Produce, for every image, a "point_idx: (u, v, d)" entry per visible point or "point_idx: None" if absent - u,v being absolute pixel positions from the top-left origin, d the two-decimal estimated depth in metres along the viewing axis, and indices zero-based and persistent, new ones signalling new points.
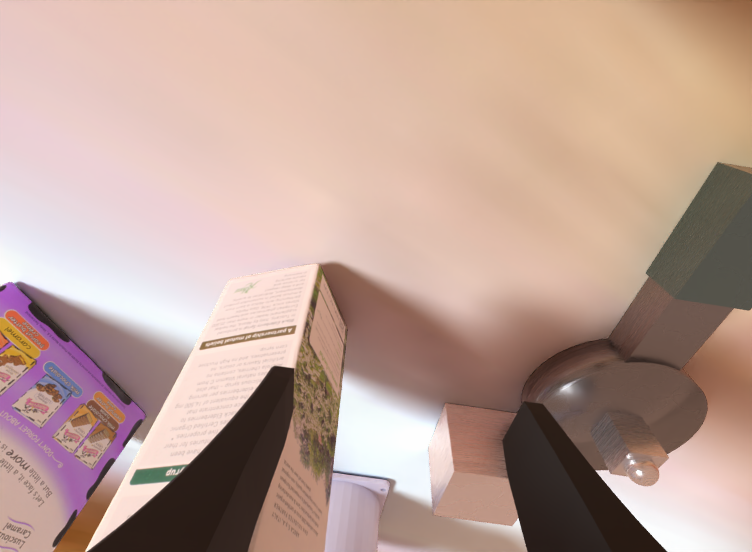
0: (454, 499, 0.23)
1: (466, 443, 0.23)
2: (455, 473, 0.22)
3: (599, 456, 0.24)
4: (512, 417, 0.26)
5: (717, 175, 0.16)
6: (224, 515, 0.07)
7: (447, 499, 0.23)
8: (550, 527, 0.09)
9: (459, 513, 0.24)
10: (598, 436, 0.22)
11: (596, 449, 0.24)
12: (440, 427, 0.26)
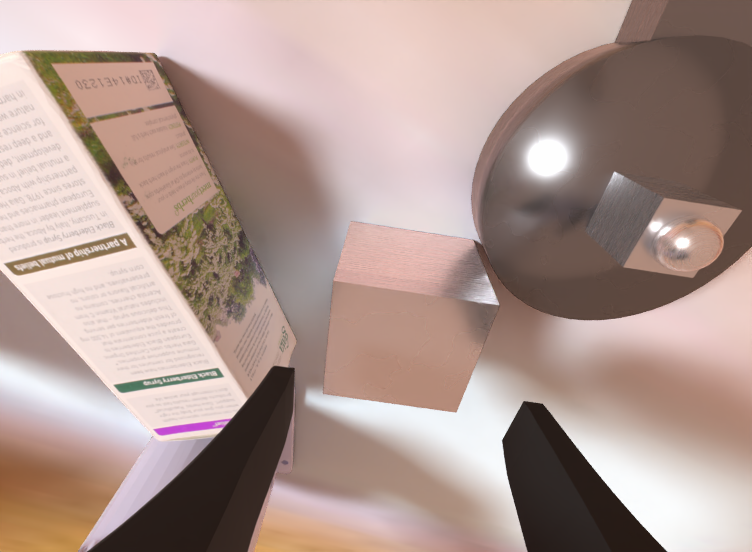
0: (349, 354, 0.13)
1: (370, 256, 0.13)
2: (337, 287, 0.12)
3: (600, 287, 0.14)
4: (458, 241, 0.16)
5: None
6: (225, 515, 0.07)
7: (338, 354, 0.13)
8: (550, 527, 0.09)
9: (364, 387, 0.14)
10: (598, 224, 0.12)
11: (596, 270, 0.14)
12: None
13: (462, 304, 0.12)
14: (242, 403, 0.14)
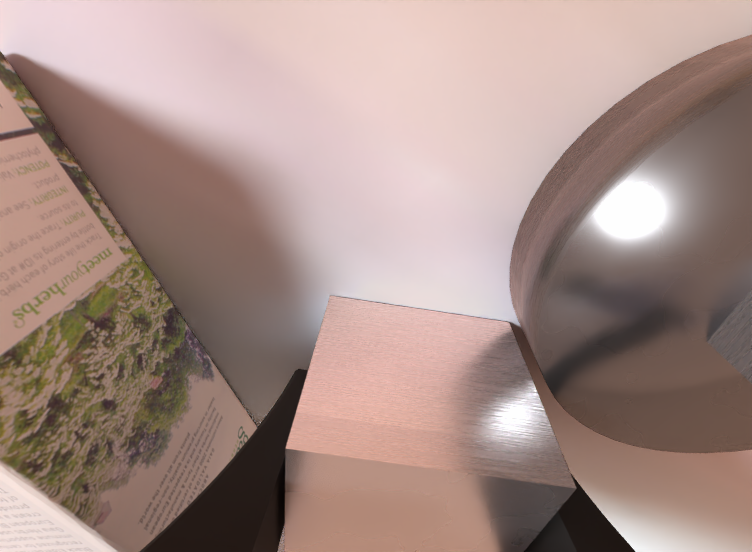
0: (321, 532, 0.08)
1: (354, 375, 0.08)
2: (293, 456, 0.07)
3: (715, 414, 0.09)
4: (489, 327, 0.11)
5: None
6: (263, 520, 0.07)
7: (303, 530, 0.08)
8: None
9: None
10: (741, 340, 0.07)
11: (713, 393, 0.09)
12: None
13: (511, 484, 0.07)
14: None
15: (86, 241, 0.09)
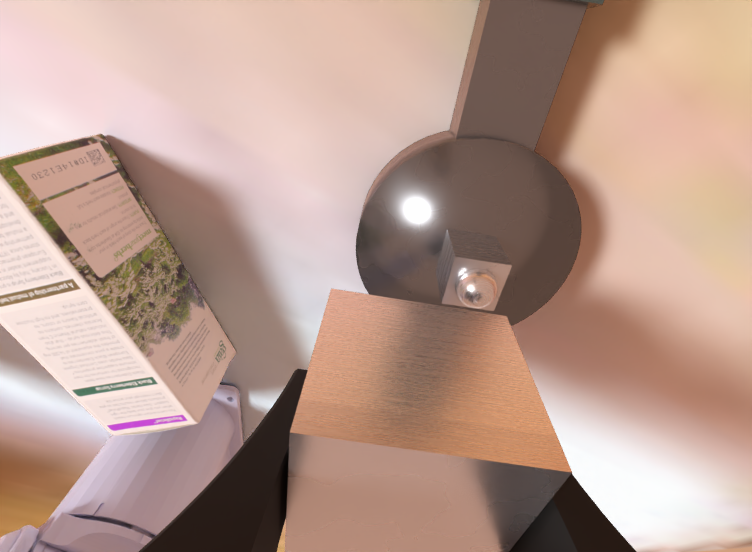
0: (322, 518, 0.09)
1: (356, 364, 0.09)
2: (297, 440, 0.07)
3: None
4: (487, 321, 0.11)
5: None
6: (262, 520, 0.07)
7: (304, 516, 0.09)
8: None
9: None
10: (439, 267, 0.16)
11: None
12: None
13: (508, 468, 0.07)
14: (175, 404, 0.18)
15: (139, 225, 0.18)
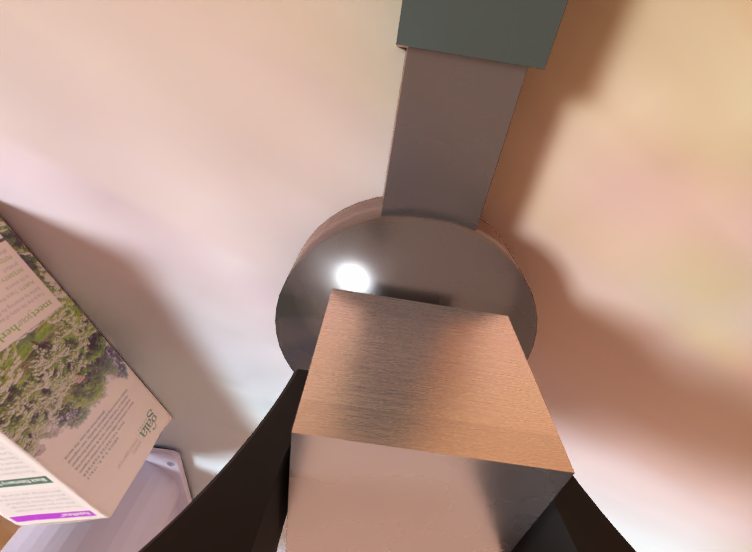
0: (324, 519, 0.09)
1: (358, 363, 0.09)
2: (298, 440, 0.07)
3: None
4: (488, 321, 0.11)
5: None
6: (262, 520, 0.07)
7: (305, 517, 0.09)
8: None
9: None
10: None
11: None
12: None
13: (511, 468, 0.07)
14: (78, 501, 0.16)
15: (34, 298, 0.15)
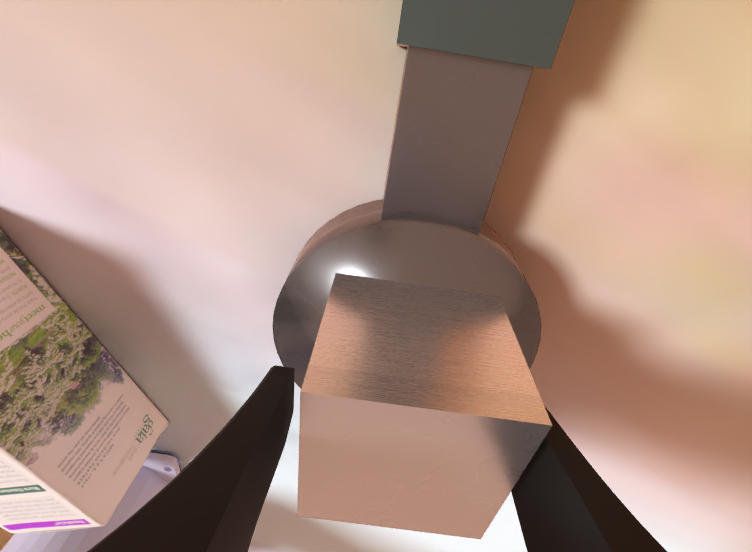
0: (331, 476, 0.09)
1: (359, 336, 0.10)
2: (307, 399, 0.08)
3: None
4: (480, 300, 0.12)
5: None
6: (224, 515, 0.07)
7: (314, 475, 0.09)
8: (550, 527, 0.09)
9: (354, 510, 0.10)
10: None
11: None
12: None
13: (495, 422, 0.08)
14: (72, 509, 0.15)
15: (27, 302, 0.15)
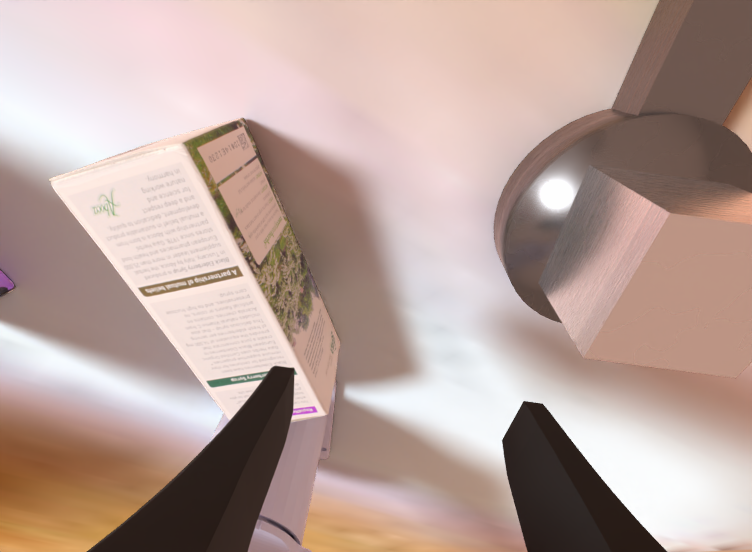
0: (641, 308, 0.12)
1: (663, 193, 0.12)
2: (670, 221, 0.10)
3: None
4: (718, 185, 0.14)
5: None
6: (224, 515, 0.07)
7: (627, 308, 0.12)
8: (550, 527, 0.09)
9: (638, 349, 0.12)
10: None
11: None
12: (578, 214, 0.14)
13: None
14: (309, 395, 0.18)
15: (275, 212, 0.17)
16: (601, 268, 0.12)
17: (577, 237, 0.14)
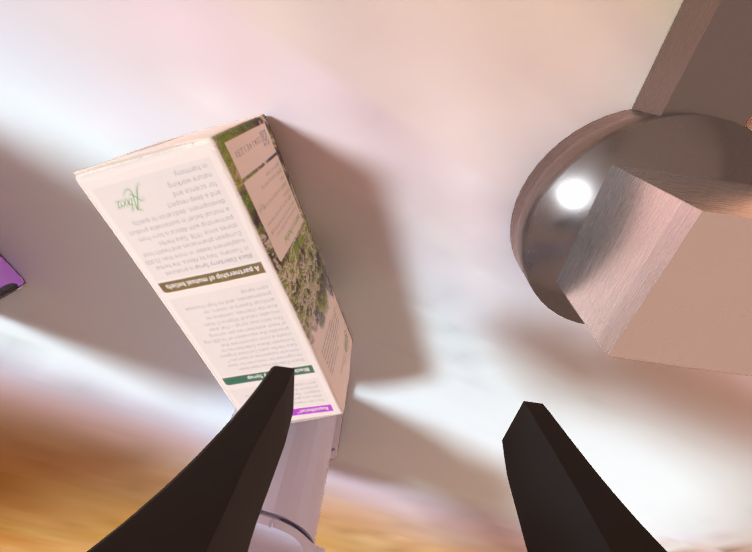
0: (668, 306, 0.12)
1: (690, 192, 0.12)
2: (702, 219, 0.10)
3: None
4: (739, 185, 0.14)
5: None
6: (224, 515, 0.07)
7: (654, 306, 0.12)
8: (550, 527, 0.09)
9: (663, 347, 0.12)
10: None
11: None
12: (600, 213, 0.14)
13: None
14: (325, 393, 0.18)
15: (293, 209, 0.17)
16: (626, 266, 0.13)
17: (599, 236, 0.14)
